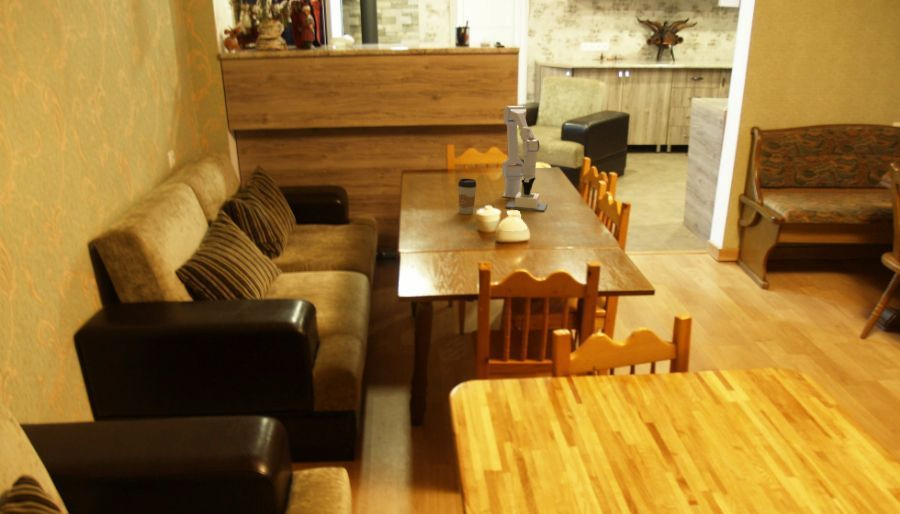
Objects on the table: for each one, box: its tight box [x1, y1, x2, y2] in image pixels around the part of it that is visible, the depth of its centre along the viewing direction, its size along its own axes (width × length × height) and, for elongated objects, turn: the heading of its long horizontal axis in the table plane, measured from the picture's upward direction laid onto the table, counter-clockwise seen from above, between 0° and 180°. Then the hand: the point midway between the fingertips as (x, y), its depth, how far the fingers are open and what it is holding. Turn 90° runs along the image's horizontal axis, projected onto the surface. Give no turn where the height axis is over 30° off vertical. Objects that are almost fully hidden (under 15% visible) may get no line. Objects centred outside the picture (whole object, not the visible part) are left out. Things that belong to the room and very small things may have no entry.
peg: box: [520, 183, 532, 198], centre depth 324 cm, size 4×4×8 cm
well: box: [505, 191, 548, 213], centre depth 326 cm, size 12×18×6 cm, turn 76°
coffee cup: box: [457, 178, 477, 215], centre depth 312 cm, size 8×8×15 cm
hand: (527, 193), depth 324 cm, fingers closed on peg, 4 cm apart
